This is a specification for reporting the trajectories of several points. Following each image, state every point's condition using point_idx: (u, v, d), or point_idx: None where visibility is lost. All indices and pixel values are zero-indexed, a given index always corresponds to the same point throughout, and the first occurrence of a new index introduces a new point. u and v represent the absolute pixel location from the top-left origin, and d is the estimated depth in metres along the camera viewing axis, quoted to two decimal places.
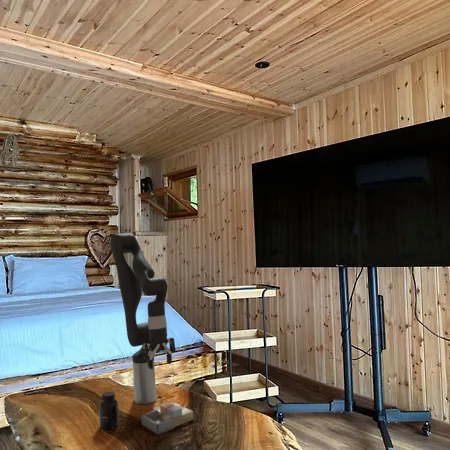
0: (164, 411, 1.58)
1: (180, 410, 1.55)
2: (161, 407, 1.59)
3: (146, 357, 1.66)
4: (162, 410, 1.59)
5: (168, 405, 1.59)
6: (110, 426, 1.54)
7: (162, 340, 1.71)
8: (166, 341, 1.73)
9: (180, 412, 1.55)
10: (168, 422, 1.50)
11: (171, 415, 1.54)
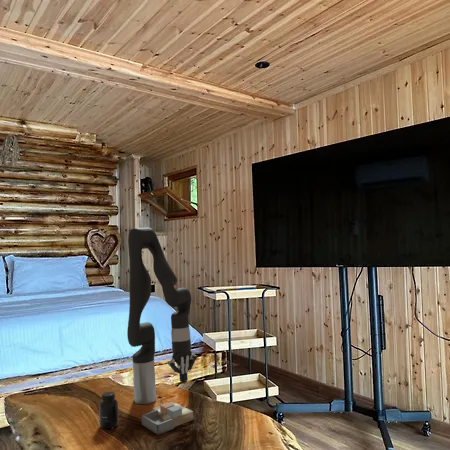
0: (164, 411, 1.58)
1: (180, 410, 1.55)
2: (161, 407, 1.59)
3: (178, 371, 1.63)
4: (162, 410, 1.59)
5: (168, 405, 1.59)
6: (110, 426, 1.54)
7: (186, 353, 1.66)
8: (190, 354, 1.67)
9: (180, 412, 1.55)
10: (168, 422, 1.50)
11: (171, 415, 1.54)
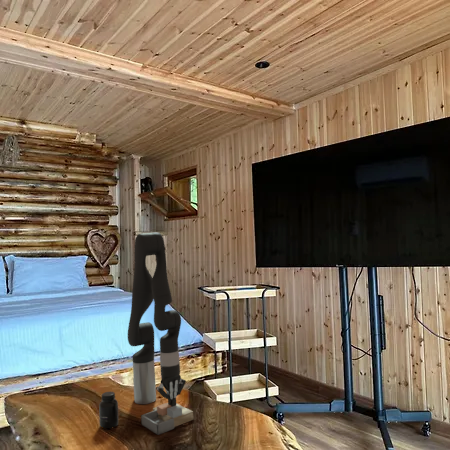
0: (161, 412, 1.57)
1: (180, 410, 1.55)
2: (158, 408, 1.59)
3: (167, 396, 1.59)
4: (159, 411, 1.58)
5: (165, 406, 1.58)
6: (110, 426, 1.54)
7: (175, 377, 1.62)
8: (179, 378, 1.63)
9: (180, 412, 1.55)
10: (168, 422, 1.50)
11: (171, 415, 1.54)
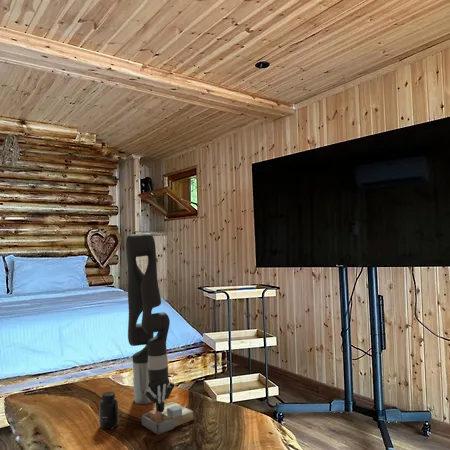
0: None
1: (180, 410, 1.55)
2: None
3: (155, 400, 1.55)
4: None
5: (153, 419, 1.54)
6: (110, 426, 1.54)
7: (163, 381, 1.58)
8: (167, 382, 1.59)
9: (180, 412, 1.55)
10: (168, 422, 1.50)
11: (171, 415, 1.54)
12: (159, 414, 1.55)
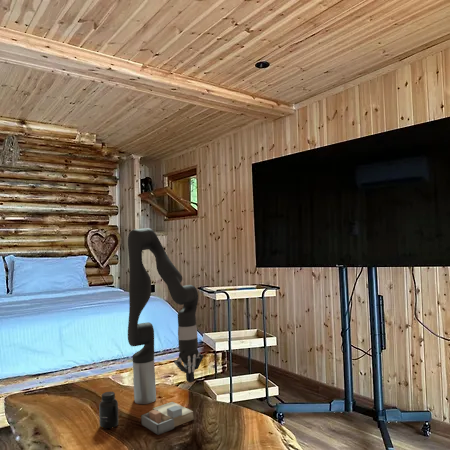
0: None
1: (180, 410, 1.55)
2: None
3: (185, 370, 1.59)
4: None
5: (153, 419, 1.54)
6: (110, 426, 1.54)
7: (192, 351, 1.62)
8: (196, 352, 1.63)
9: (180, 412, 1.55)
10: (168, 422, 1.50)
11: (171, 415, 1.54)
12: (159, 414, 1.55)
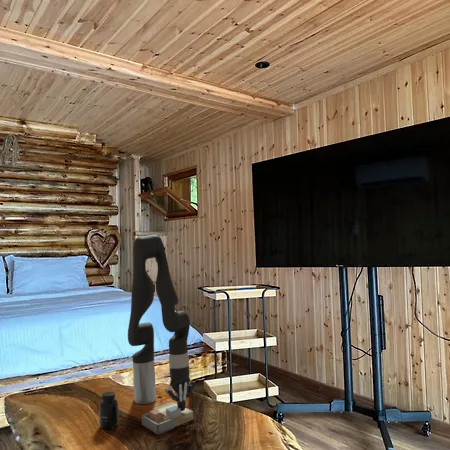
0: None
1: (179, 410, 1.55)
2: None
3: (176, 399, 1.56)
4: None
5: (153, 419, 1.54)
6: (110, 426, 1.54)
7: (184, 379, 1.58)
8: (188, 380, 1.60)
9: (179, 412, 1.55)
10: (168, 422, 1.50)
11: (170, 415, 1.54)
12: (159, 414, 1.55)
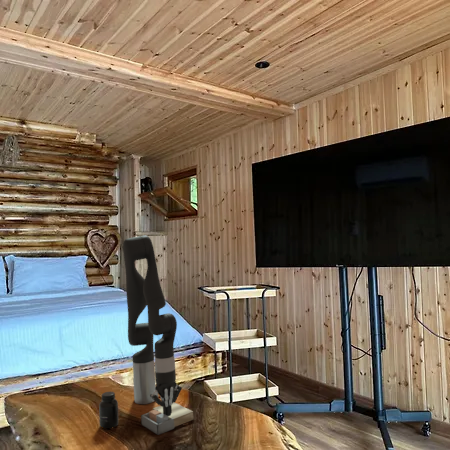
0: None
1: (164, 419, 1.50)
2: None
3: (162, 404, 1.52)
4: None
5: (153, 419, 1.54)
6: (110, 426, 1.54)
7: (170, 384, 1.54)
8: (174, 385, 1.56)
9: (165, 419, 1.51)
10: (168, 422, 1.50)
11: None
12: None
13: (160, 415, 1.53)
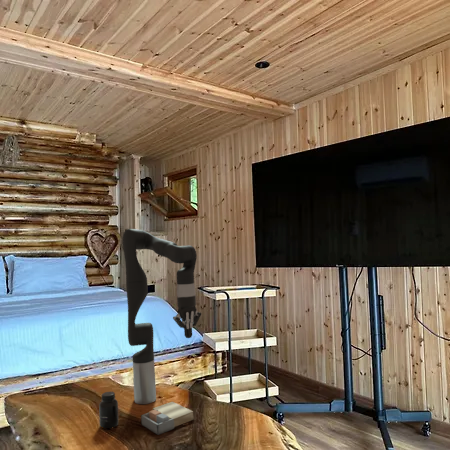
0: None
1: (164, 419, 1.50)
2: None
3: (183, 326, 1.66)
4: None
5: (153, 419, 1.54)
6: (110, 426, 1.54)
7: (191, 309, 1.69)
8: (194, 310, 1.70)
9: (165, 419, 1.51)
10: (168, 422, 1.50)
11: None
12: None
13: (160, 415, 1.53)
